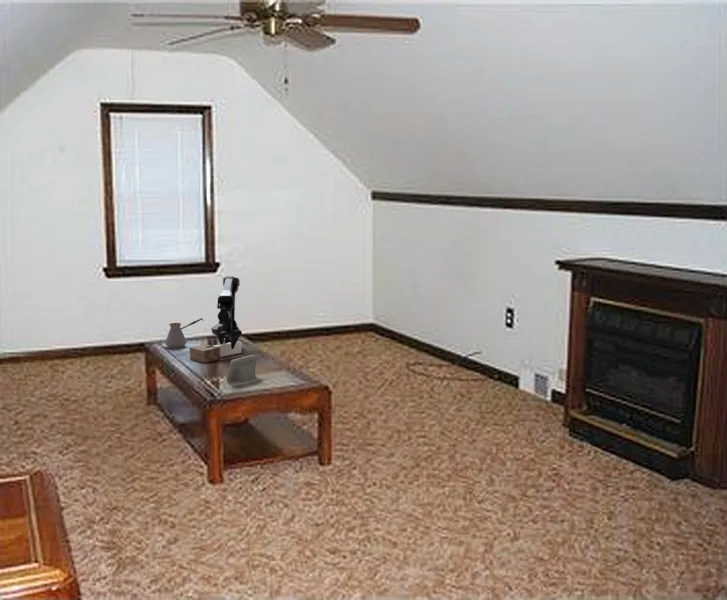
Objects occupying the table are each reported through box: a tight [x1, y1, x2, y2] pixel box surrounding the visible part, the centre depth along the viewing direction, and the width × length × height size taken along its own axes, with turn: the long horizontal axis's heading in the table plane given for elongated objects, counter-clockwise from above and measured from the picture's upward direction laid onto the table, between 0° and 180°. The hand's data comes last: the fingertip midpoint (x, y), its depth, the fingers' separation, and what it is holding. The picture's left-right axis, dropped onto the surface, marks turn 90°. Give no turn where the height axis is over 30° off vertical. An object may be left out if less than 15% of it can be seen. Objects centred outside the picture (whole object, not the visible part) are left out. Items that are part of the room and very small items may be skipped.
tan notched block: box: [189, 344, 221, 363], centre depth 405 cm, size 10×12×6 cm
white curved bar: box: [212, 340, 242, 358], centre depth 414 cm, size 20×3×6 cm, turn 136°
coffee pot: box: [164, 317, 204, 349], centre depth 436 cm, size 21×12×15 cm, turn 113°
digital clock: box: [226, 354, 258, 383], centre depth 364 cm, size 16×9×11 cm, turn 130°
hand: (227, 347), depth 415 cm, fingers open, 9 cm apart
